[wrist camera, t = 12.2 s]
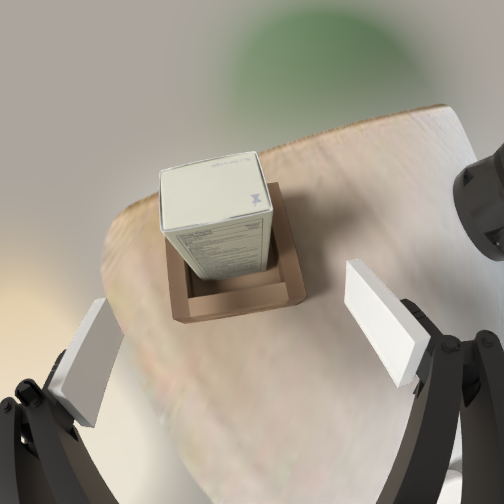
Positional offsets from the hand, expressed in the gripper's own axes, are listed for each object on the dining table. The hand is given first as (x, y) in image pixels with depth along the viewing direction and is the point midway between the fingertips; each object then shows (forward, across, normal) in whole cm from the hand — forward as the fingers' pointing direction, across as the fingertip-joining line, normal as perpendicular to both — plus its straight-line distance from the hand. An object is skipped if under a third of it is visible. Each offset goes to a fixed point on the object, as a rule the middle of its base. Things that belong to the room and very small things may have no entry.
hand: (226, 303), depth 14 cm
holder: (+13, 0, -4) cm, 13 cm away
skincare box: (+12, 0, -3) cm, 13 cm away
